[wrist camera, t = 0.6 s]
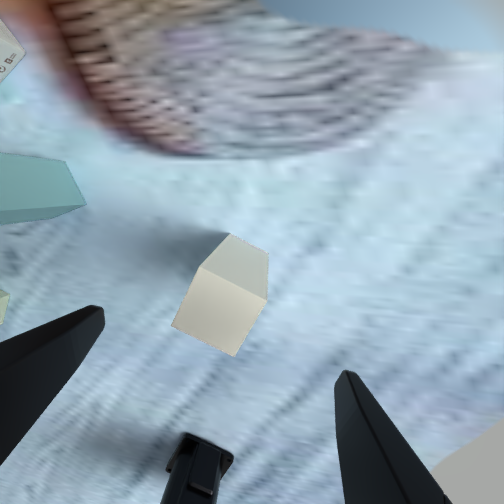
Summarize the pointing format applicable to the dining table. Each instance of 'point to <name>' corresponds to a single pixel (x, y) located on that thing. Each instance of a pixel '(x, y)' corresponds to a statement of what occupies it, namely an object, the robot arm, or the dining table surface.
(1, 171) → the teal post
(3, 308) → the sage post
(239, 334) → the off-white post
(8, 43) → the supplement box
